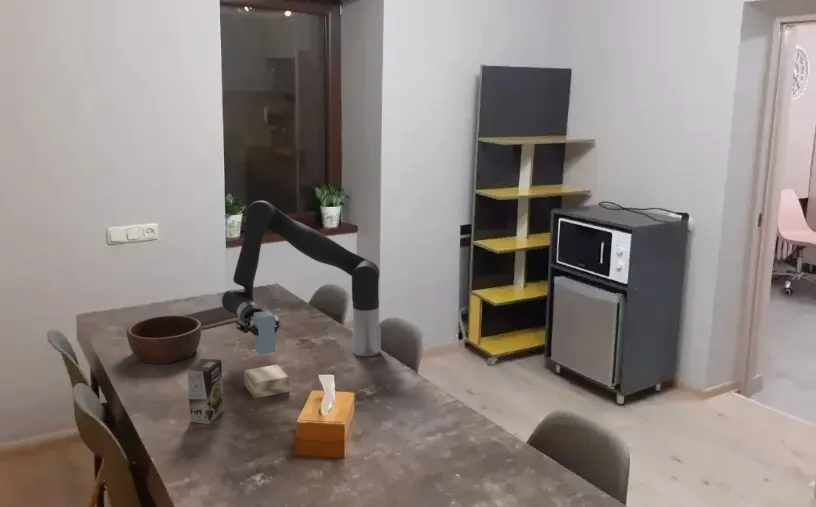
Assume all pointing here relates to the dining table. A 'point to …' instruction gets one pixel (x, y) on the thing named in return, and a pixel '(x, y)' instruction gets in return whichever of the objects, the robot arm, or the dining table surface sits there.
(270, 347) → the blue pillar
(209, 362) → the coffee box
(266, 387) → the birch block
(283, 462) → the dining table surface
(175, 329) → the wooden bowl
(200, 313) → the hardcover book
